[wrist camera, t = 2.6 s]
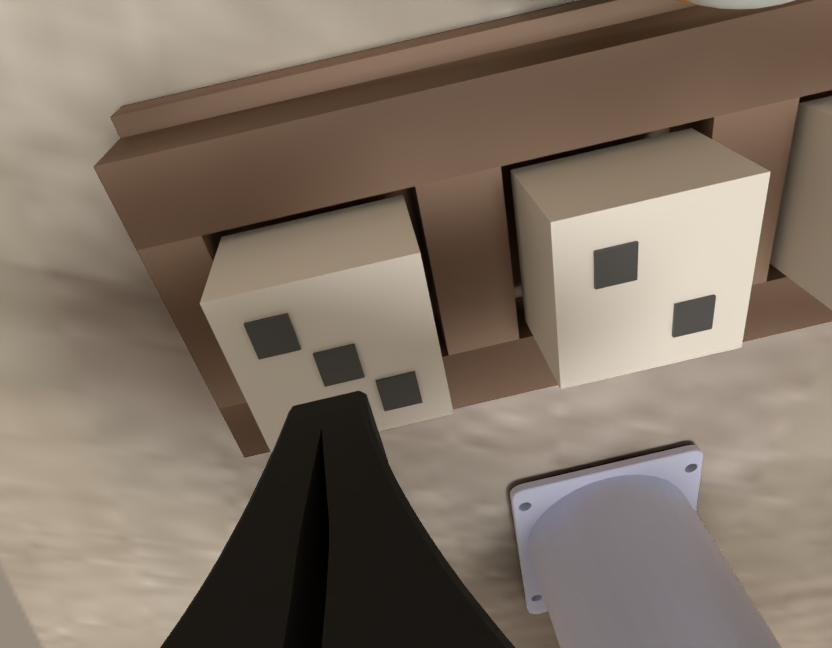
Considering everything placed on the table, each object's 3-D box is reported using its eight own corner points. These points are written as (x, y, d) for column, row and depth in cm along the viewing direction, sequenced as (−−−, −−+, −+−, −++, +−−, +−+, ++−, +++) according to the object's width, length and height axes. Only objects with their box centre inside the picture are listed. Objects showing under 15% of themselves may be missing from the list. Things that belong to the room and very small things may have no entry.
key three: (434, 340, 16) (454, 416, 14) (280, 376, 16) (272, 459, 14) (402, 194, 14) (421, 254, 11) (221, 236, 14) (199, 305, 11)
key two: (678, 284, 16) (743, 349, 14) (524, 320, 16) (561, 391, 14) (691, 128, 14) (773, 173, 11) (510, 169, 14) (551, 224, 11)
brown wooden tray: (885, 257, 20) (963, 303, 18) (259, 402, 20) (250, 468, 18) (994, -95, 15) (1131, -100, 12) (122, 106, 14) (81, 143, 12)
